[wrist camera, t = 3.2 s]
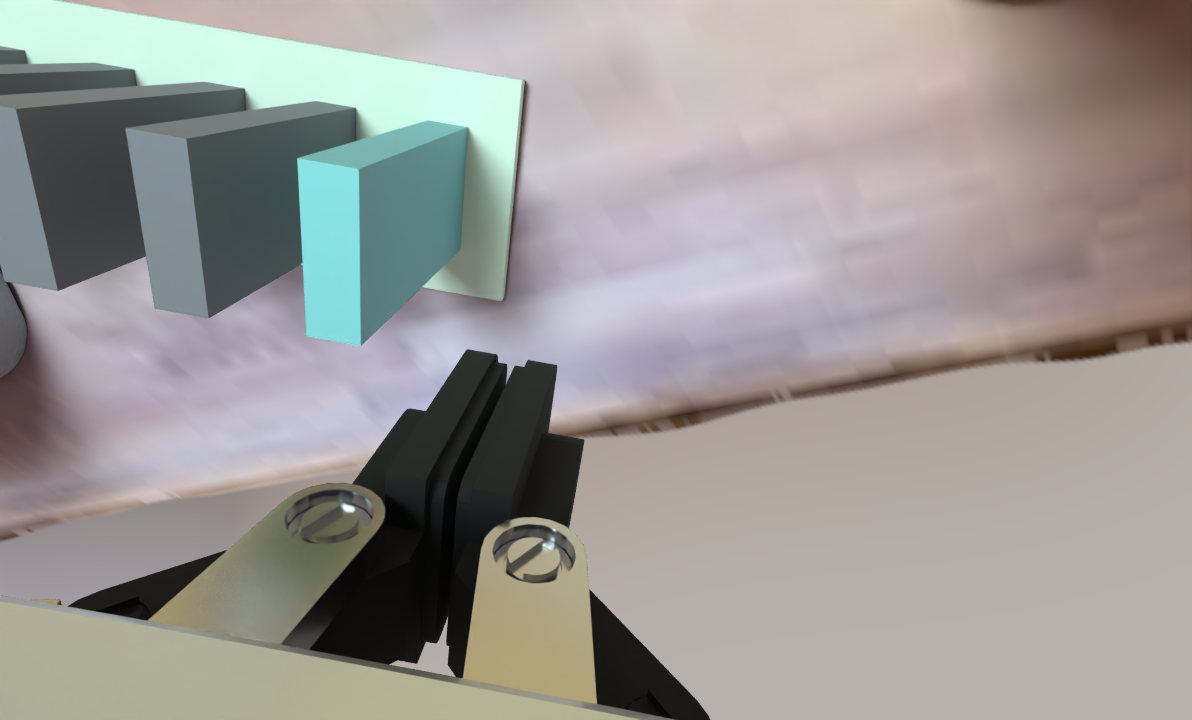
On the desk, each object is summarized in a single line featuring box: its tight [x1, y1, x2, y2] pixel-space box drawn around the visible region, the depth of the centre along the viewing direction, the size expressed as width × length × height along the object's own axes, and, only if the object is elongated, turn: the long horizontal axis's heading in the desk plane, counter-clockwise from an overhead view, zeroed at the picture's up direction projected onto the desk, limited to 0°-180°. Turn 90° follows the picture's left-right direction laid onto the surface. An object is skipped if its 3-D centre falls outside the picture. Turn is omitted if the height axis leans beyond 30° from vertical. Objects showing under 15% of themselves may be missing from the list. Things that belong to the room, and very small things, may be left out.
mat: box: [0, 0, 525, 301], centre depth 27 cm, size 28×9×1 cm, turn 81°
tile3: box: [0, 82, 246, 291], centre depth 22 cm, size 2×5×10 cm, turn 172°
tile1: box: [297, 120, 468, 346], centre depth 22 cm, size 2×5×10 cm, turn 171°
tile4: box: [0, 63, 137, 95], centre depth 22 cm, size 2×5×10 cm, turn 171°
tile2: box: [126, 101, 356, 318], centre depth 22 cm, size 2×5×10 cm, turn 171°
